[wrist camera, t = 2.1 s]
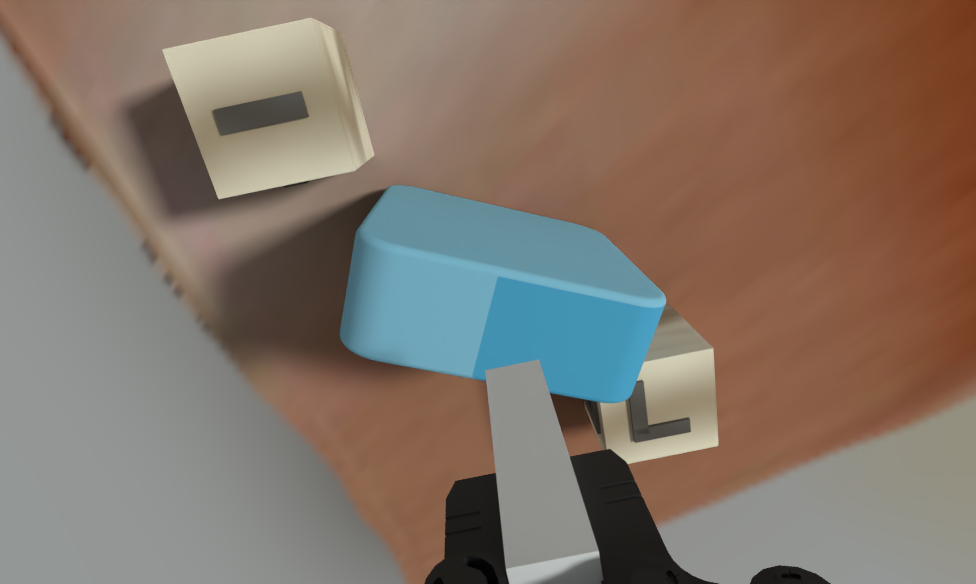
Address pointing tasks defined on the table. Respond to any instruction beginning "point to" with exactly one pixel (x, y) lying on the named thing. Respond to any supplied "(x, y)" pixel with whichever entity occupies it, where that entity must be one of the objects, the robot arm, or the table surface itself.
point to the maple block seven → (664, 398)
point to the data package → (496, 295)
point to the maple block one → (272, 106)
